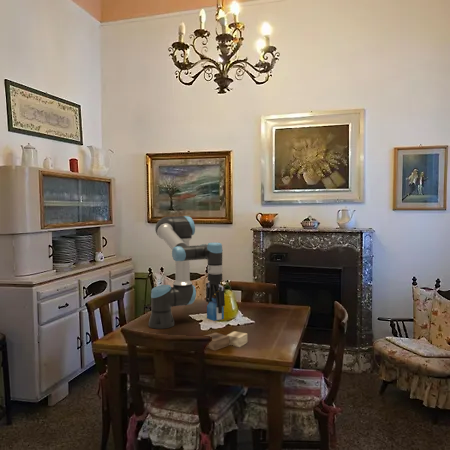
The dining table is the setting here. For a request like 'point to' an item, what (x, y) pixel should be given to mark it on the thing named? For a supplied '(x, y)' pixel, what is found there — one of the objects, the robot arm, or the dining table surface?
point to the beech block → (237, 338)
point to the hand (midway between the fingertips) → (215, 317)
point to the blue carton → (213, 309)
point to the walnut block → (218, 341)
